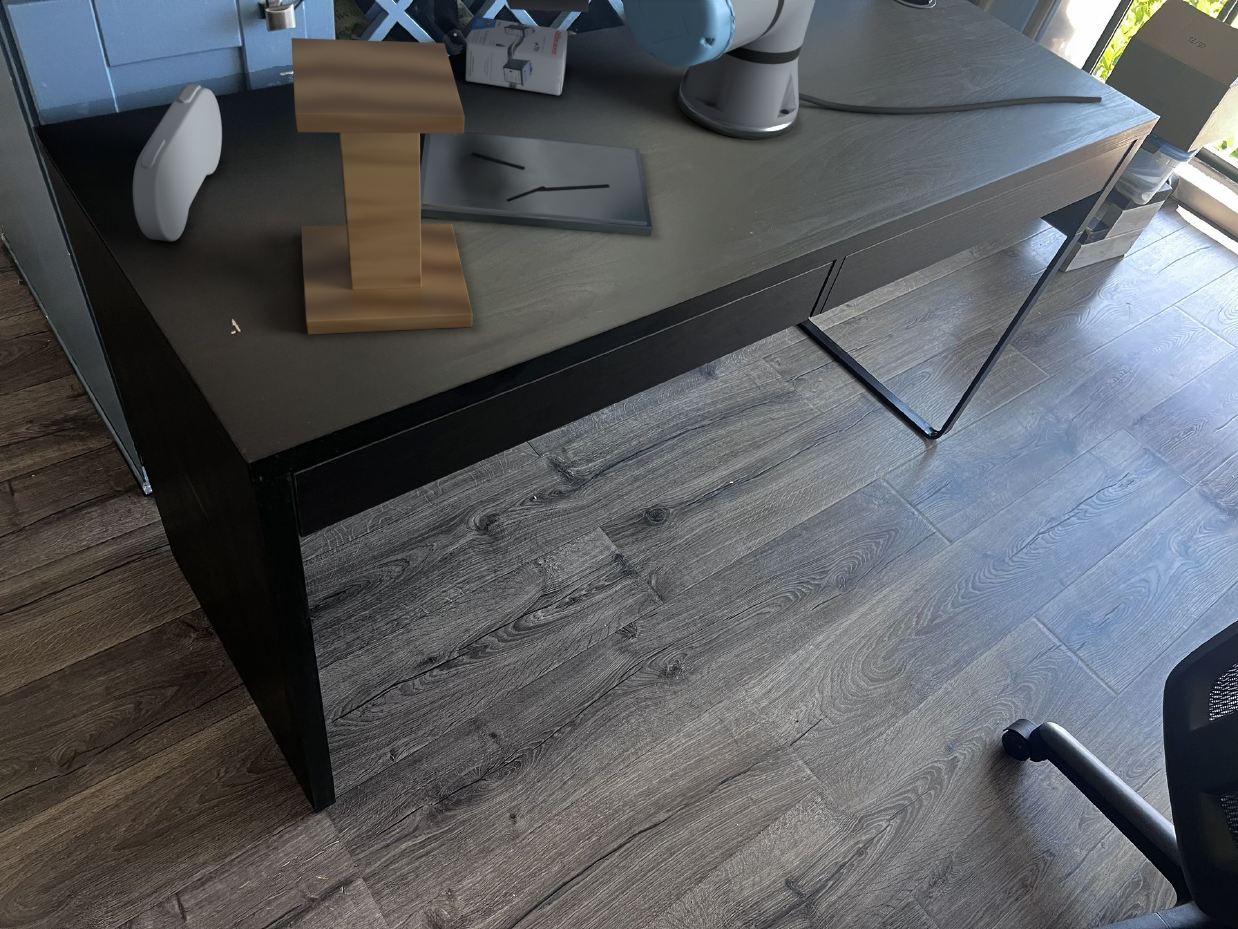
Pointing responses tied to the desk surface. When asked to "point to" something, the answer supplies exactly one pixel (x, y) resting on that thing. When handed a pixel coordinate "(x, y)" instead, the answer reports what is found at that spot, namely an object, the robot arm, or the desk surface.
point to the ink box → (516, 55)
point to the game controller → (177, 163)
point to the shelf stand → (379, 187)
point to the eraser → (550, 5)
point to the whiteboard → (534, 183)
